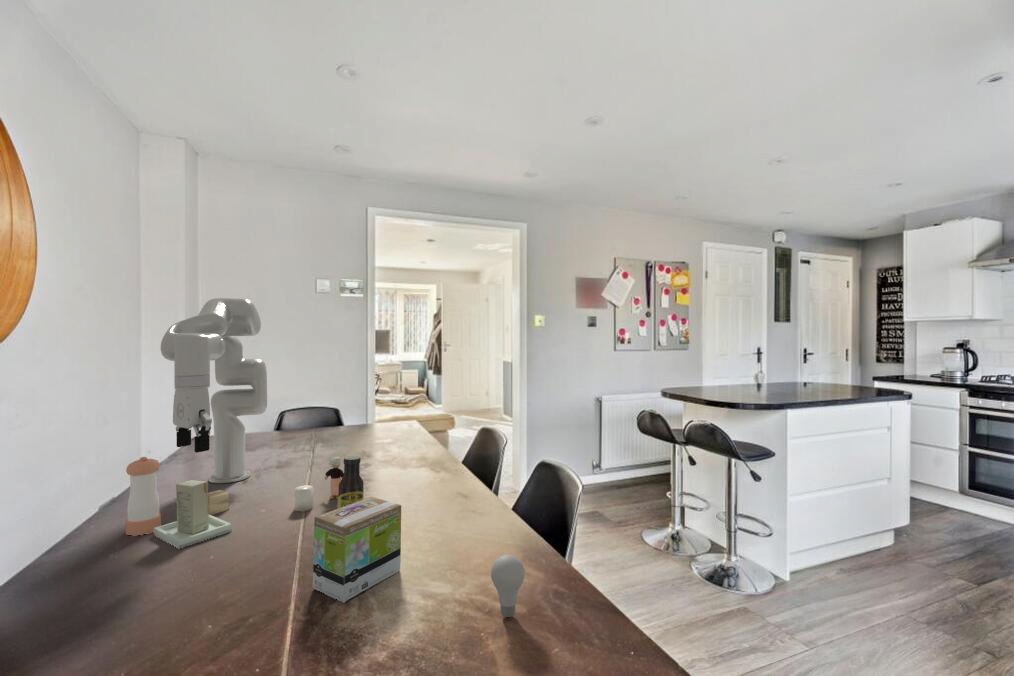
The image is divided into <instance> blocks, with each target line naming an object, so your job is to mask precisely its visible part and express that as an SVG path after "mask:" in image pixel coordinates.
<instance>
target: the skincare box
mask: <svg viewBox="0 0 1014 676" xmlns="http://www.w3.org/2000/svg"><path fill="white" fill-rule="evenodd" d="M208 484H209V482H208V481H205V480H197V479H190V480H186V481H183V482H179V483H176V484H175V492H176V493H175V494H176V497H175V498H176V521H177V531H179V532H184V533H190V534H195V533H197V532H200V531H202V530H205V529H207V528H209V514H208V493H209V485H208Z"/></svg>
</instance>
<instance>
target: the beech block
mask: <svg viewBox="0 0 1014 676" xmlns="http://www.w3.org/2000/svg"><path fill="white" fill-rule="evenodd" d="M229 497H230V493H229V492H227V491H224V490H221V489H218V490H214V491H210V492H208V514H209V515H212V516H213V515H216V514H219V513H222V512H225V511H228V510H230V506H229V505H230V501H229V499H230V498H229Z"/></svg>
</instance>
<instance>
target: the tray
mask: <svg viewBox="0 0 1014 676" xmlns="http://www.w3.org/2000/svg"><path fill="white" fill-rule="evenodd" d="M231 532H232V523H230V522H229V521H227V520H226V521H225V520H224V519H221V518H219V517H216V516H213V515H209V528H207V529H205V530H202V531H200V532H197V533H195V534H190V533H184V532H179V531H177V520H176V521H171V522H170V523H166V524H161V526H158V527H155V528H154V532H153V536H154V535H155V536H156V537H155V536H154V537H155V538H157V537H158V538H157V539H159V538H160V539H159V540H161V539H162V540H164V541H166V542H167V543H166V542H165V543H166V544H168V543H169V544H168V545H170V544H171V545H170V546H172V545H173V546H174V548H175V547H176V549H177V548H178V550H181V549H180V548H182V547H185V546H188V547H190V546H189V545H191V544H194V543H197V542H199V543H202V542H205V541H208V540H211V539H213V537H214V538H216V536H217V537H219V536H222V535H225V534H229V533H231ZM210 538H211V539H210ZM207 539H208V540H207ZM162 540H161V541H162ZM204 540H205V541H204ZM164 541H163V542H164ZM201 541H202V542H201ZM197 544H198V543H197ZM194 545H195V544H194ZM173 546H172V547H173ZM191 546H192V545H191ZM185 548H186V547H185ZM182 549H183V548H182Z"/></svg>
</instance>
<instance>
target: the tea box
mask: <svg viewBox="0 0 1014 676" xmlns="http://www.w3.org/2000/svg"><path fill="white" fill-rule="evenodd" d="M313 525H314V527H313V558H312V560H313V561H312V563H313V566H312V567H313V570H312V589H314V590H316V591H318V592H319V591H320V592H319V593H321V592H322V594H323V593H324V595H325V596H328V597H330V598H331V599H333V600H336V599H337V600H336V601H338V602H340V603H343V604H344V603H346V602H348V601H349V600H350V599H353V598H354V597H355V596H358V595H359V594H361V593H363V592H365V591H366V590H368V589H369V588H371V587H374V586H375V585H377V584H379V583H381V582H382V581H385V580H386V579H388V578H390V577H392V576H394V575H396V574H397V573H399V572H400V571H401V561H402V560H401V554H402V550H401V547H402V538H401V537H402V504H399V503H396V502H392V501H389V500H385V499H381V498H377V497H374V496H369V497H367V498H363V500H361V501H358V502H355V503H352V504H350V505H347V506H344V507H341V508H338V509H337V508H336V509H333V510H331V511H327V512H324V513H322V514H319V515H316V516H315V517H314V524H313ZM398 571H399V572H398ZM395 573H396V574H395ZM393 574H394V575H393Z"/></svg>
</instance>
